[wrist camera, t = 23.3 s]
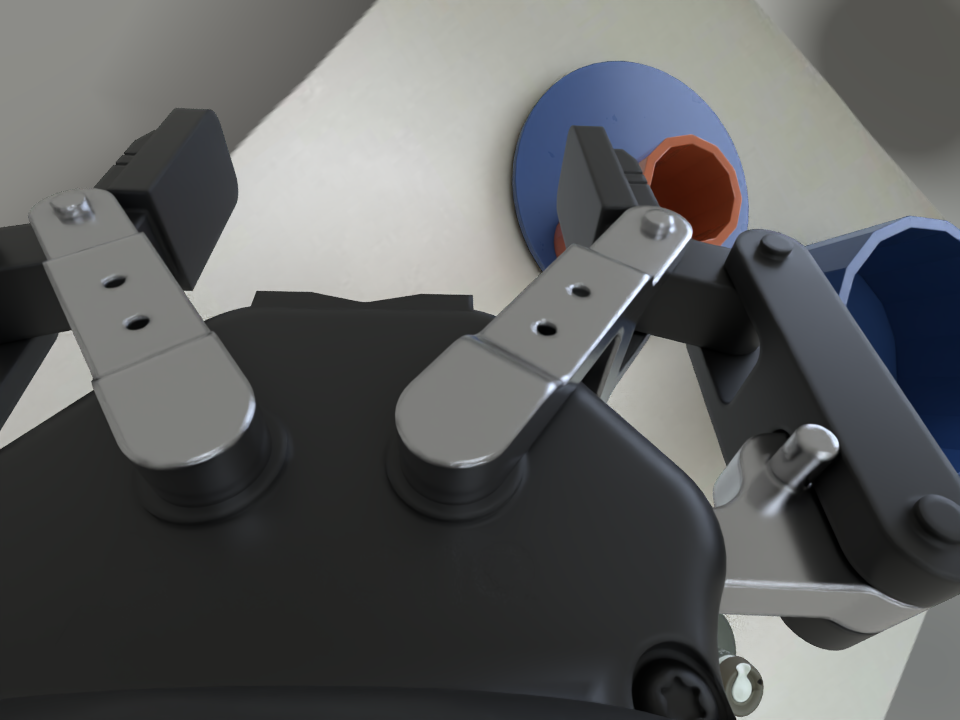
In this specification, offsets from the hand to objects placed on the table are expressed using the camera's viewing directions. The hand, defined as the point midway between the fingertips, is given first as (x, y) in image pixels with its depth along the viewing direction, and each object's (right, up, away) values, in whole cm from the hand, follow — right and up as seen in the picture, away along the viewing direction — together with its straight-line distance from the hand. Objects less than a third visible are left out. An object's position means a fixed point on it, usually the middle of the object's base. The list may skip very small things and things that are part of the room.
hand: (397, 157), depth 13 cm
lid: (+13, +7, +25) cm, 29 cm away
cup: (+10, +3, +23) cm, 25 cm away
